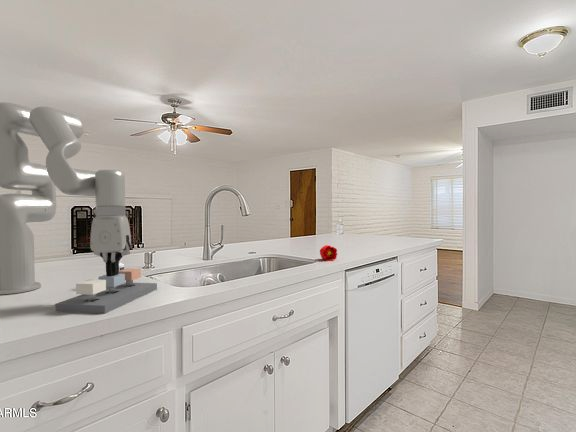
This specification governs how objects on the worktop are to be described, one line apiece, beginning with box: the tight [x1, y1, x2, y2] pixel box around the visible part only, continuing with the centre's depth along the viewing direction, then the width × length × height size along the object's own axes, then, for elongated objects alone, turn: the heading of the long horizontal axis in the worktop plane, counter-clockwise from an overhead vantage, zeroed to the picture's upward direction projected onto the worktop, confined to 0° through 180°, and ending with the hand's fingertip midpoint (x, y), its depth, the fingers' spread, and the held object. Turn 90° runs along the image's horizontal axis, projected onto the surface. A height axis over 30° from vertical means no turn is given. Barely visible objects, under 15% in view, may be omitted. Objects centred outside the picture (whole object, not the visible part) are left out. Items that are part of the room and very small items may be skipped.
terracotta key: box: [119, 268, 142, 286], centre depth 99 cm, size 5×5×5 cm
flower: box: [319, 244, 338, 262], centre depth 160 cm, size 8×8×8 cm
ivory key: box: [75, 279, 106, 301], centre depth 83 cm, size 5×5×5 cm
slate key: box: [98, 274, 126, 292], centre depth 91 cm, size 5×5×5 cm
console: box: [54, 281, 158, 314], centre depth 91 cm, size 14×24×2 cm, turn 172°
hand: (112, 275), depth 91 cm, fingers closed
